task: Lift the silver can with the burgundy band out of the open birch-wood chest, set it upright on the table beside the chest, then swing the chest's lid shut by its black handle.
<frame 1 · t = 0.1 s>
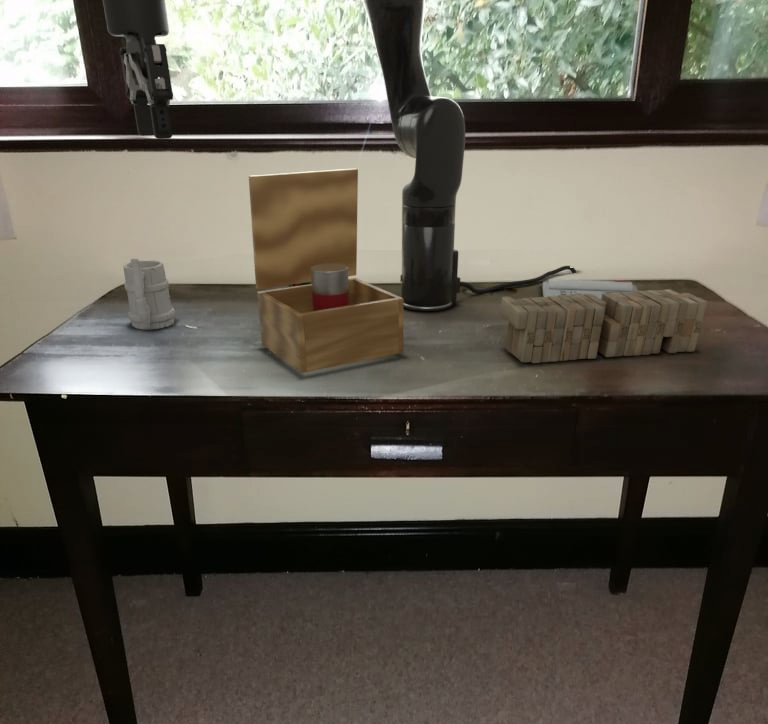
hand: (154, 136, 98), 29 cm above the table, tool pointing down, fingers open, 8 cm apart
chest: (331, 353, 110), on the table
mug: (151, 328, 122), on the table
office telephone: (597, 305, 133), on the table
can: (333, 349, 109), point 1 cm above the table, touching chest
lid: (299, 225, 108), point 17 cm above the table, hinge at 85.0°
block tower: (595, 351, 110), on the table
soda can: (305, 321, 125), on the table
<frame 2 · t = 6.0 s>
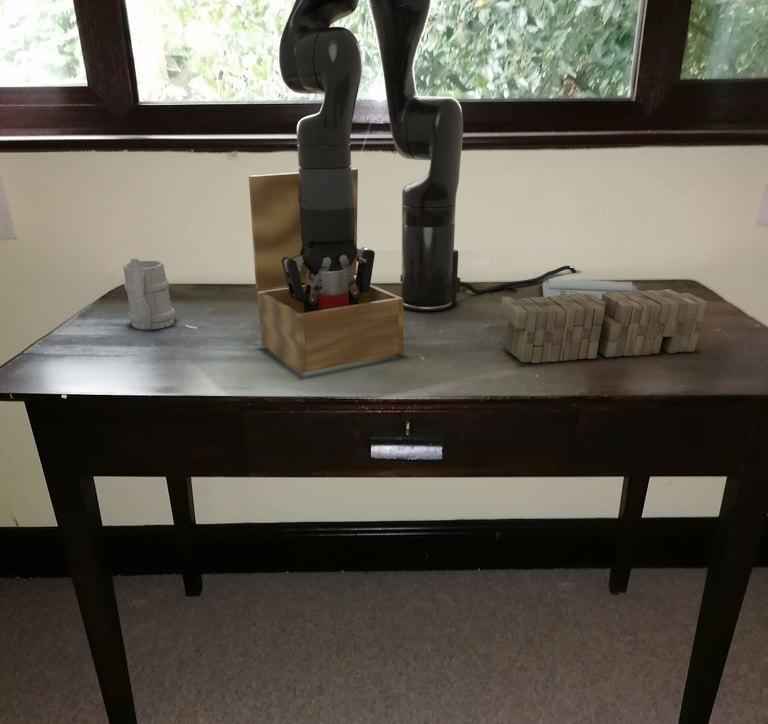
hand: (332, 325, 107), 4 cm above the table, tool pointing down, fingers closed on can, 5 cm apart
can: (333, 349, 109), point 1 cm above the table, touching chest, gripper
everything else where it was.
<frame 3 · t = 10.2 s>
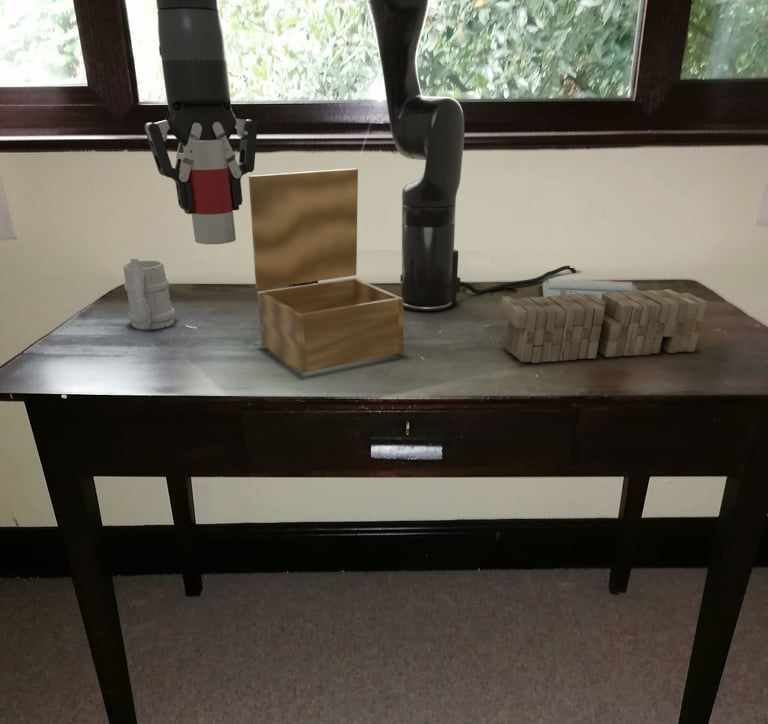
hand: (212, 210, 94), 21 cm above the table, tool pointing down, fingers closed on can, 5 cm apart
can: (215, 240, 96), point 18 cm above the table, touching gripper
everything else where it was.
when the fingers open (4 cm above the table, at t = 14.4 s): can stays where it is, on the table.
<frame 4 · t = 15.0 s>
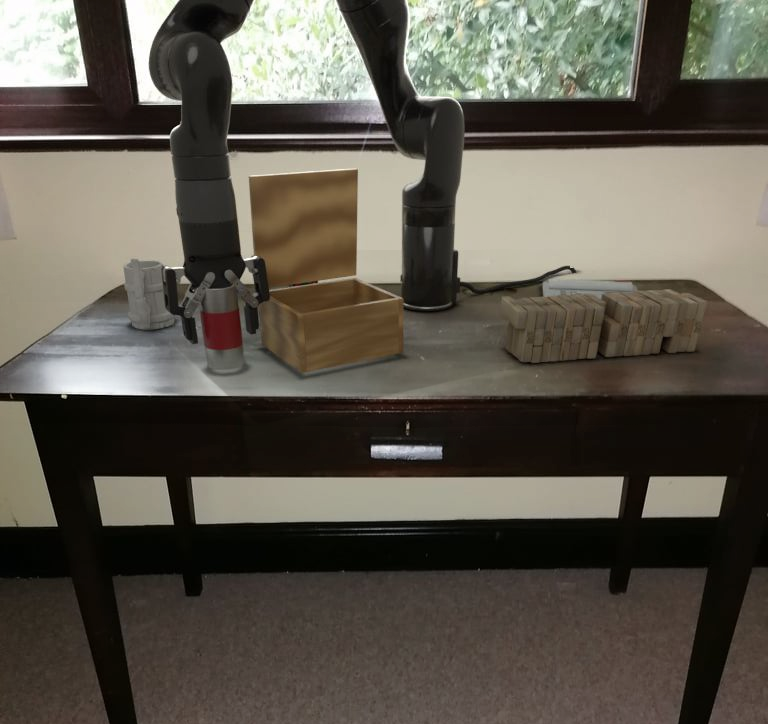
hand: (223, 337, 102), 5 cm above the table, tool pointing down, fingers open, 8 cm apart
can: (226, 368, 105), on the table
everything else where it was.
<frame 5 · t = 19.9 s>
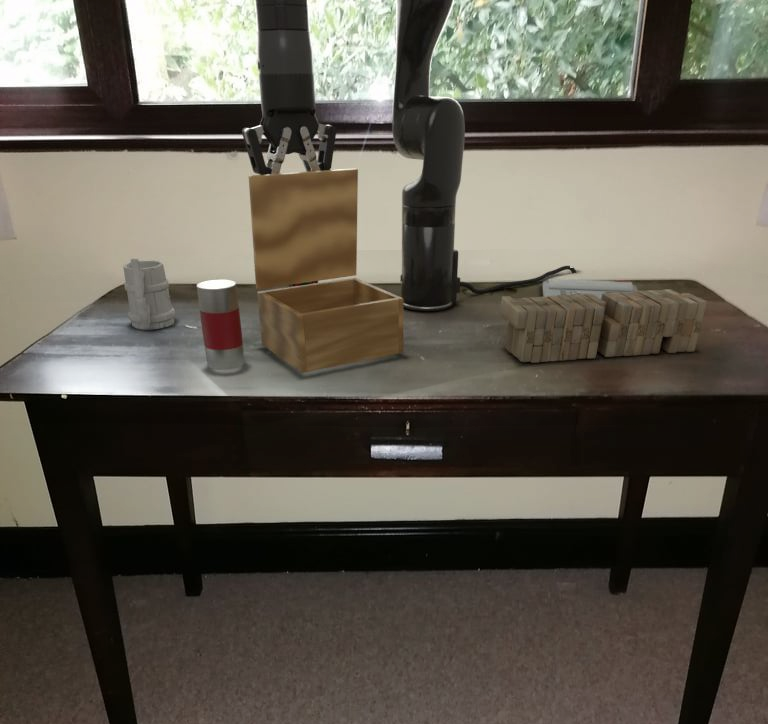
hand: (295, 204, 107), 20 cm above the table, tool pointing down, fingers closed on lid, 5 cm apart
lid: (299, 225, 108), point 17 cm above the table, hinge at 85.0°, touching gripper
everything else where it was.
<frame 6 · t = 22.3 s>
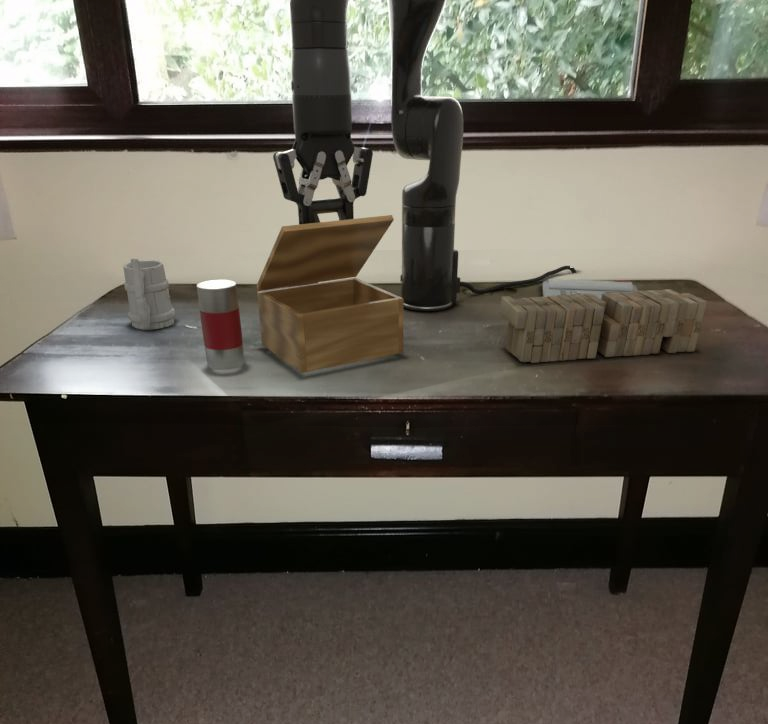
hand: (327, 231, 101), 18 cm above the table, tool pointing down, fingers closed on lid, 5 cm apart
lid: (317, 239, 104), point 16 cm above the table, hinge at 40.7°, touching gripper
everything else where it was.
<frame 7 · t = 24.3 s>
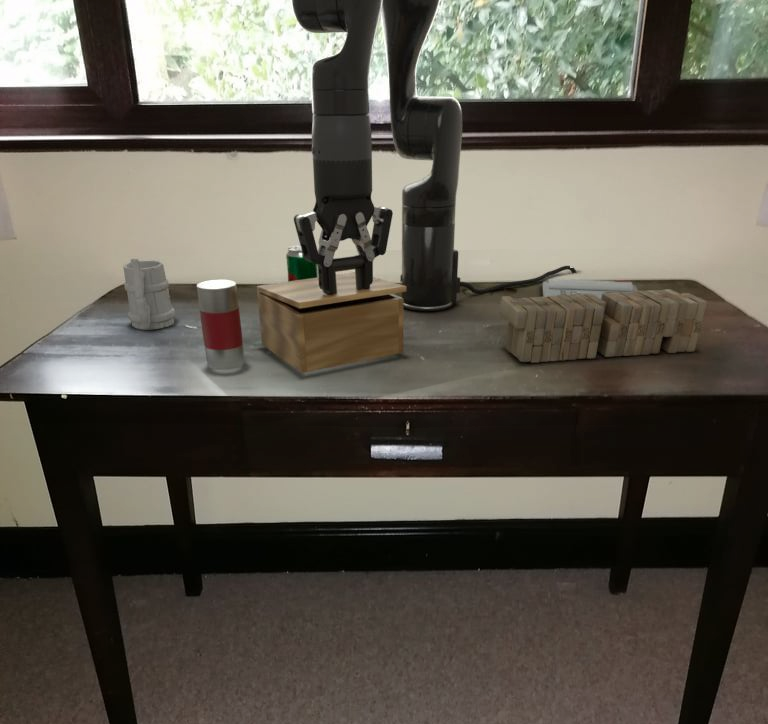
hand: (346, 290, 100), 11 cm above the table, tool pointing down, fingers closed on lid, 5 cm apart
lid: (328, 272, 104), point 12 cm above the table, hinge at 3.8°, touching gripper
everything else where it was.
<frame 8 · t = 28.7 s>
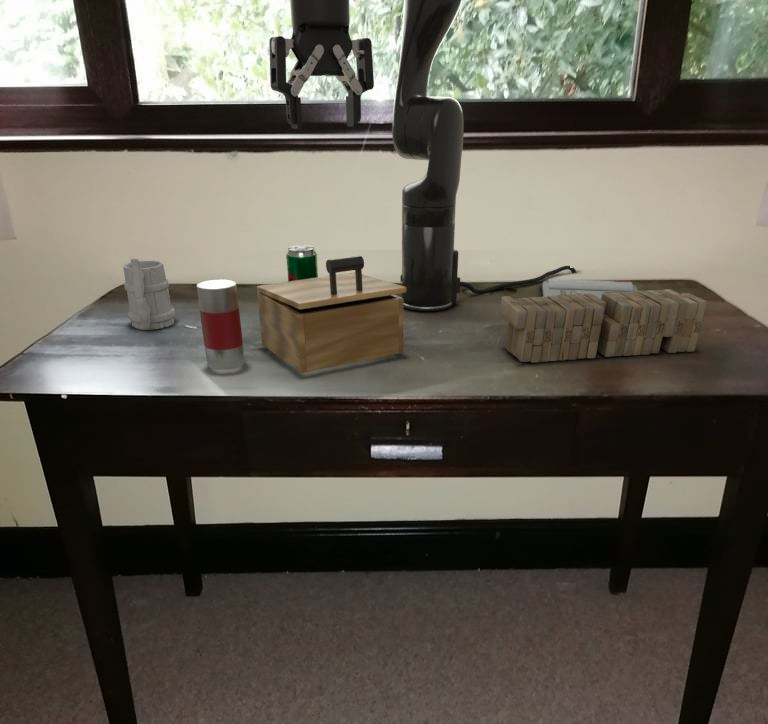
hand: (325, 127, 100), 30 cm above the table, tool pointing down, fingers open, 8 cm apart
lid: (328, 272, 104), point 12 cm above the table, hinge at 3.3°
everything else where it was.
at the end: can inside the target area (0.0 cm from its centre), on the table; can tilted 0°; lid at +3° (first picture: +85°) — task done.
